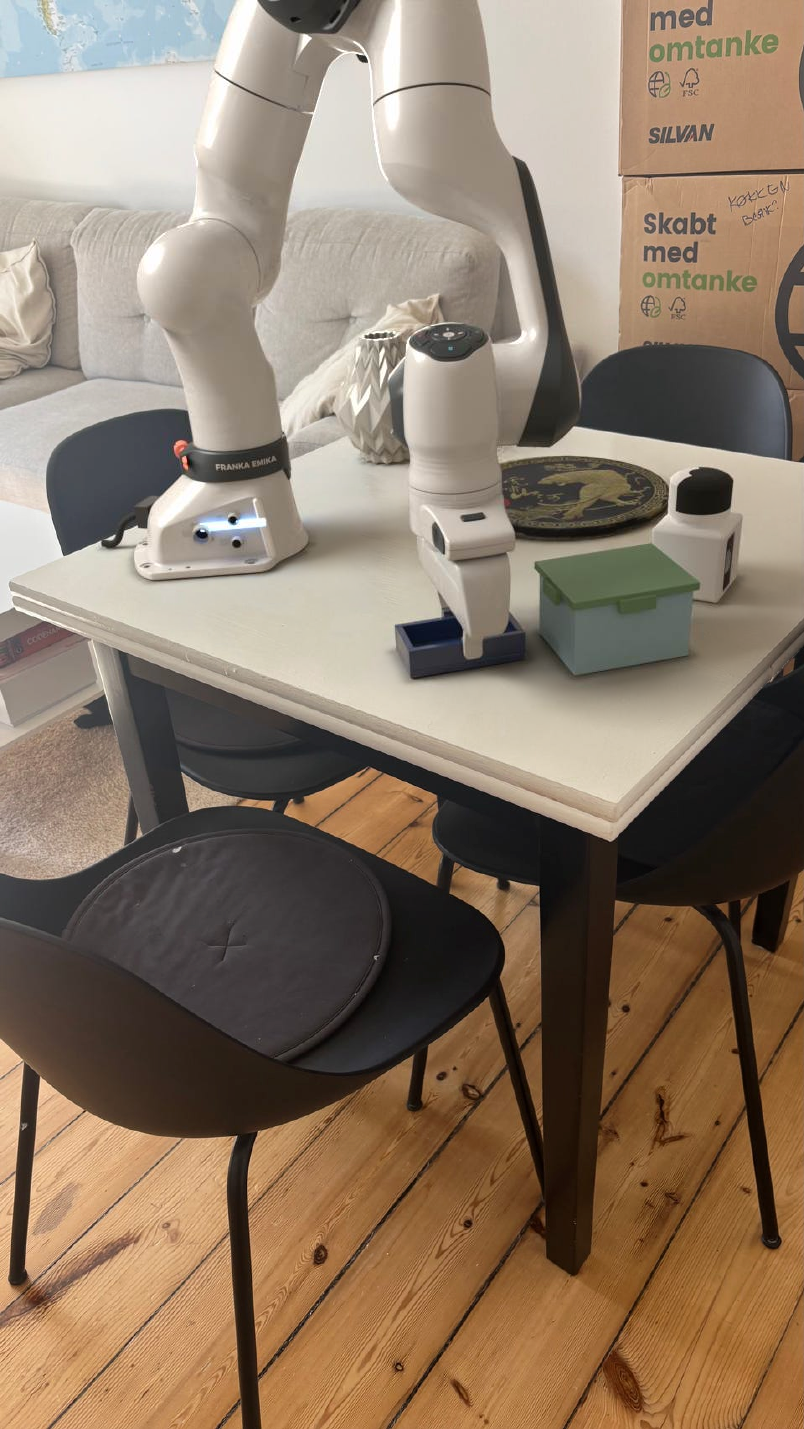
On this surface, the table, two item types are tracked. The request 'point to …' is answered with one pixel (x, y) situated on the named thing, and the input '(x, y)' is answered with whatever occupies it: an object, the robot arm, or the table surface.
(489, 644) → the low blue storage tray
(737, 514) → the container
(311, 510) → the table surface
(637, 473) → the decorative plate
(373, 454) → the vase
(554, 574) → the box
